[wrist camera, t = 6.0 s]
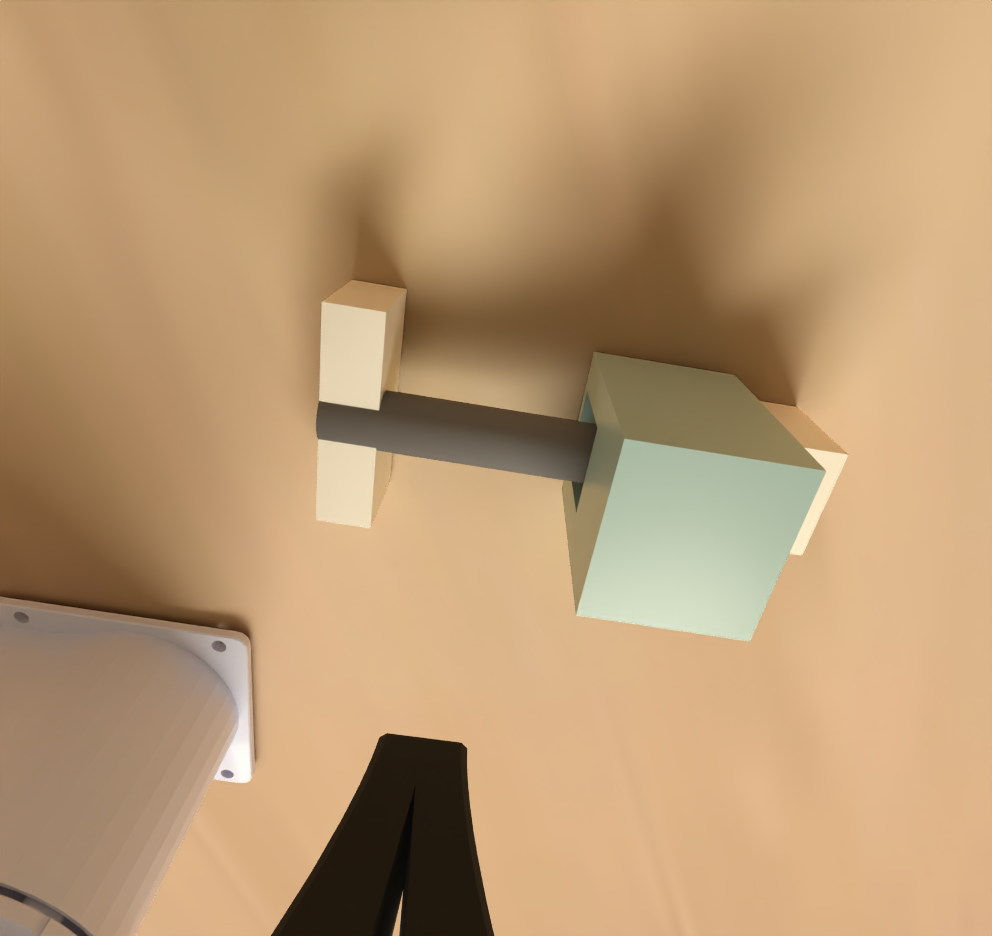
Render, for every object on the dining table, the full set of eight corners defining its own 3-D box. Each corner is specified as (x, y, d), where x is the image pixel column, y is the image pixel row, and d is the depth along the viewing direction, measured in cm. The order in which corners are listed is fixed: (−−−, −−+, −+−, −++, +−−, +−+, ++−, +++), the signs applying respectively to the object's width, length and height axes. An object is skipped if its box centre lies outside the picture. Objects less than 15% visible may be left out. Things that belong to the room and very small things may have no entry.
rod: (339, 441, 18) (305, 493, 15) (343, 336, 17) (307, 372, 14) (766, 508, 19) (810, 571, 16) (806, 411, 17) (861, 462, 14)
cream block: (723, 489, 19) (757, 548, 16) (756, 400, 18) (800, 446, 15) (760, 495, 19) (802, 555, 16) (796, 407, 18) (848, 454, 15)
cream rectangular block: (343, 473, 19) (315, 520, 17) (352, 279, 17) (321, 301, 14) (390, 480, 20) (370, 528, 17) (407, 288, 17) (386, 312, 14)
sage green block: (561, 488, 19) (575, 615, 14) (594, 351, 17) (624, 438, 12) (688, 508, 19) (749, 641, 14) (734, 374, 17) (826, 471, 12)
